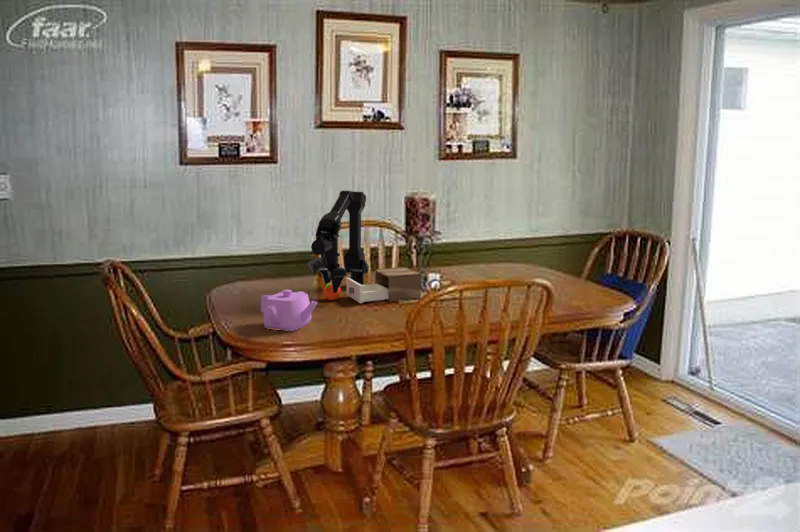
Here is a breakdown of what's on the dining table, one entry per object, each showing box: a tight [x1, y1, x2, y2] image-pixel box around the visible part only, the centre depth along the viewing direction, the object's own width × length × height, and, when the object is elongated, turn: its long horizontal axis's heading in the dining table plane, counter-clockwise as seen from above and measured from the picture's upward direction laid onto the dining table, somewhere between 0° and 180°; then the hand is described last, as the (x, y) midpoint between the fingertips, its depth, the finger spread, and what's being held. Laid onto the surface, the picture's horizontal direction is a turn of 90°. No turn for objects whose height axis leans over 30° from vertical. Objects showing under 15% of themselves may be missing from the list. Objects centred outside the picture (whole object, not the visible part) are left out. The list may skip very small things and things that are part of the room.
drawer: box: [345, 277, 389, 304], centre depth 278 cm, size 15×14×7 cm
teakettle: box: [260, 289, 318, 331], centre depth 242 cm, size 17×17×12 cm
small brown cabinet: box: [374, 266, 422, 303], centre depth 283 cm, size 15×13×10 cm
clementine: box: [322, 281, 342, 301], centre depth 277 cm, size 8×7×7 cm
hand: (331, 290), depth 277 cm, fingers open, 9 cm apart
